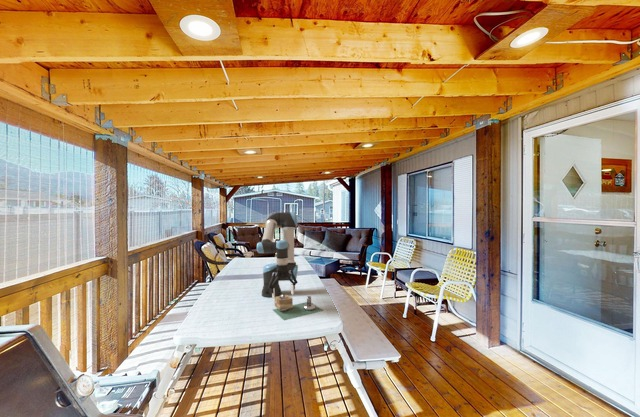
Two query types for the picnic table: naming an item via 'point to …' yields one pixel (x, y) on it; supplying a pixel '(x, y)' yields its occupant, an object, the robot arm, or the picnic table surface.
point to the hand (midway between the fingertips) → (283, 296)
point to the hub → (309, 305)
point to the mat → (296, 311)
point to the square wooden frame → (283, 302)
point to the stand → (283, 298)
